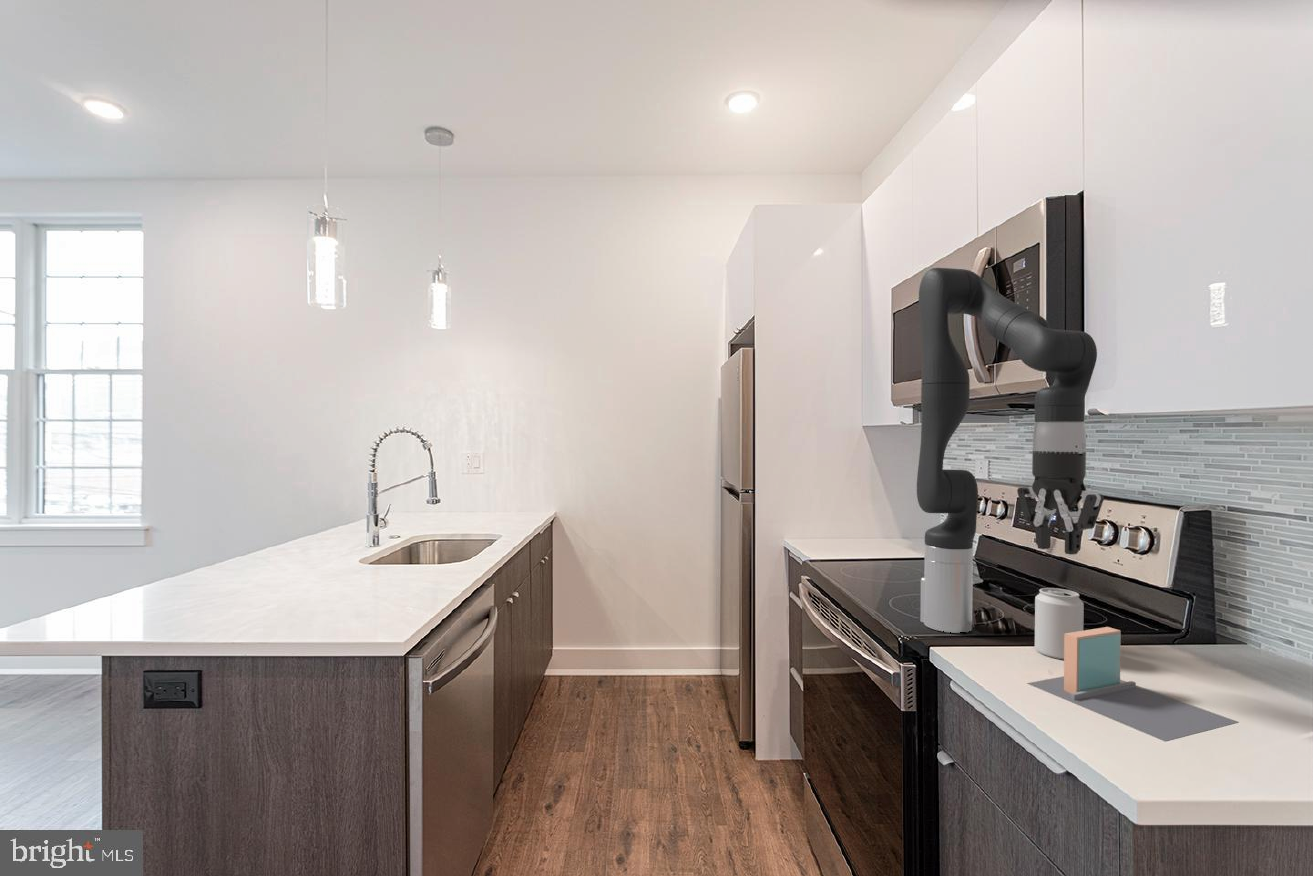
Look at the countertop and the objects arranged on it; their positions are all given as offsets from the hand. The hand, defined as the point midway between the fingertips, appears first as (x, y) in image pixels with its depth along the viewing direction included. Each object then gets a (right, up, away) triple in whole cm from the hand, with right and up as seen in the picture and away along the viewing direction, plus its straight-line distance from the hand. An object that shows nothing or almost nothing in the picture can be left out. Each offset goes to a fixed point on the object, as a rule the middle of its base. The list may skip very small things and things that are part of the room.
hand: (1057, 550), depth 104 cm
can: (+7, -21, +10) cm, 25 cm away
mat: (+4, -21, -10) cm, 24 cm away
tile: (+2, -21, -5) cm, 22 cm away
